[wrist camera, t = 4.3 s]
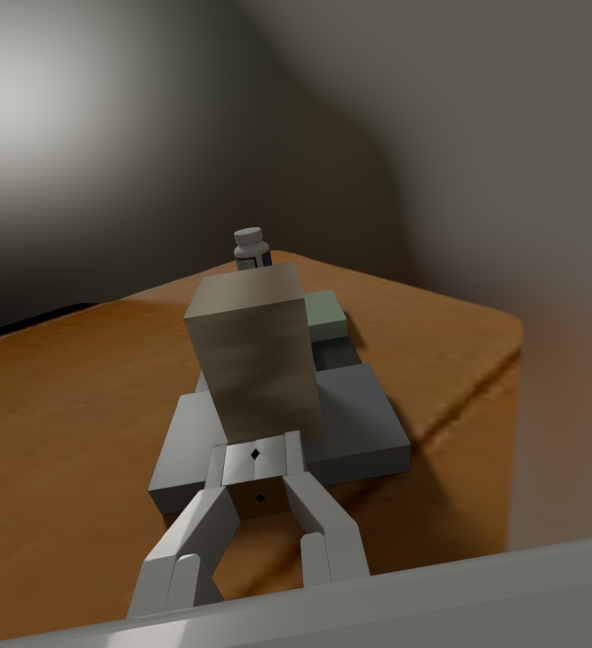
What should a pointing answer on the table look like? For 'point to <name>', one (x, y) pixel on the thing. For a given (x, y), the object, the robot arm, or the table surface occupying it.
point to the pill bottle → (251, 250)
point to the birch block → (257, 352)
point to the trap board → (321, 455)
